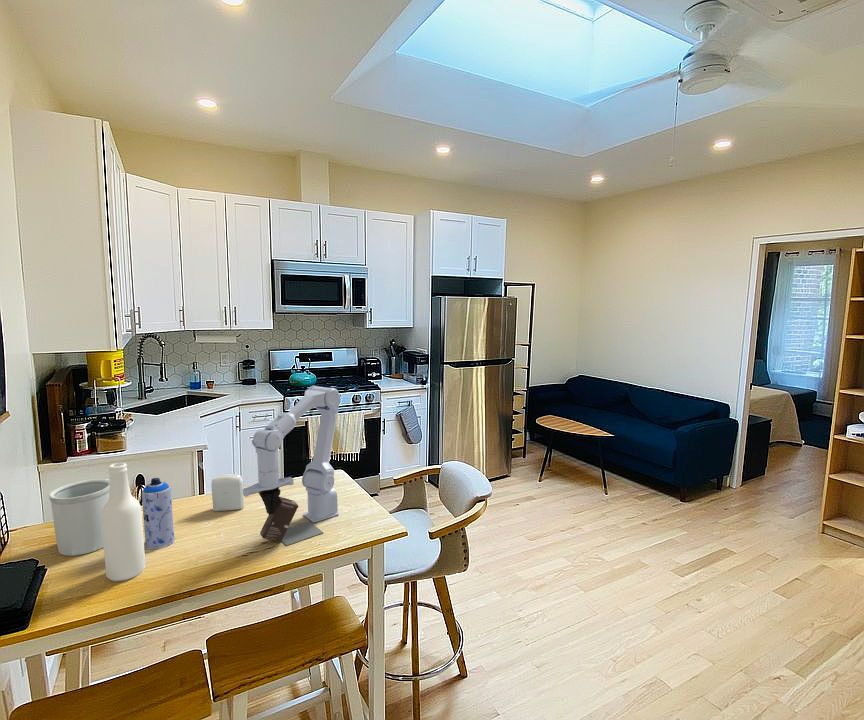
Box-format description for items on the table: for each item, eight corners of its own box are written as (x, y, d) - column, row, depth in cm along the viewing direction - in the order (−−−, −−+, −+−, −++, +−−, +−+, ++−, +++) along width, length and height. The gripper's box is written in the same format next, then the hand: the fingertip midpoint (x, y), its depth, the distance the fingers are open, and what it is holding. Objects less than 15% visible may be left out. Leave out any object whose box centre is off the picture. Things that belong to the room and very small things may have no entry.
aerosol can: (141, 542, 140) (136, 478, 137) (170, 533, 146) (165, 472, 143) (149, 552, 135) (144, 486, 132) (178, 542, 140) (174, 478, 138)
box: (263, 539, 137) (281, 500, 138) (259, 533, 140) (277, 495, 142) (281, 543, 140) (299, 505, 142) (277, 537, 144) (294, 500, 146)
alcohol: (106, 570, 126) (96, 463, 122) (144, 560, 131) (136, 457, 127) (106, 586, 118) (96, 473, 115) (147, 575, 123) (138, 466, 120)
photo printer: (211, 512, 160) (209, 477, 159) (214, 506, 164) (213, 473, 163) (242, 510, 162) (241, 476, 160) (245, 505, 166) (243, 471, 164)
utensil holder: (43, 551, 135) (36, 493, 133) (96, 528, 149) (91, 475, 146) (76, 561, 130) (70, 502, 127) (128, 537, 143) (123, 482, 141)
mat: (309, 521, 154) (309, 520, 154) (323, 533, 146) (323, 532, 146) (273, 533, 146) (273, 532, 146) (286, 546, 138) (286, 545, 138)
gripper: (286, 460, 145) (287, 501, 147) (238, 471, 136) (240, 515, 138) (295, 466, 140) (297, 509, 142) (246, 478, 131) (248, 523, 132)
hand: (270, 512), depth 139 cm, fingers closed
